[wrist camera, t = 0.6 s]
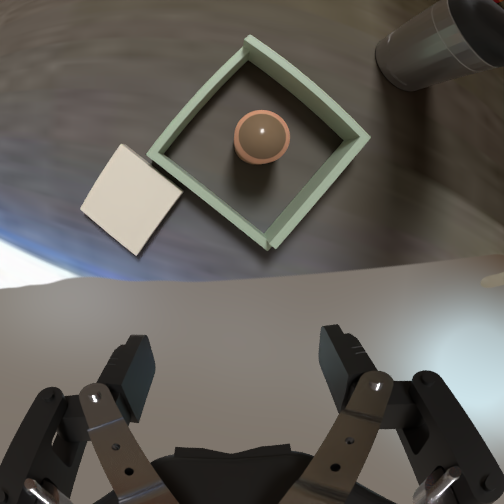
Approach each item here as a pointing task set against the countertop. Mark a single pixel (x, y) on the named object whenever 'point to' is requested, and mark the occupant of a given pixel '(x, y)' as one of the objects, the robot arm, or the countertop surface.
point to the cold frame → (308, 96)
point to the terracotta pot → (261, 137)
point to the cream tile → (130, 199)
